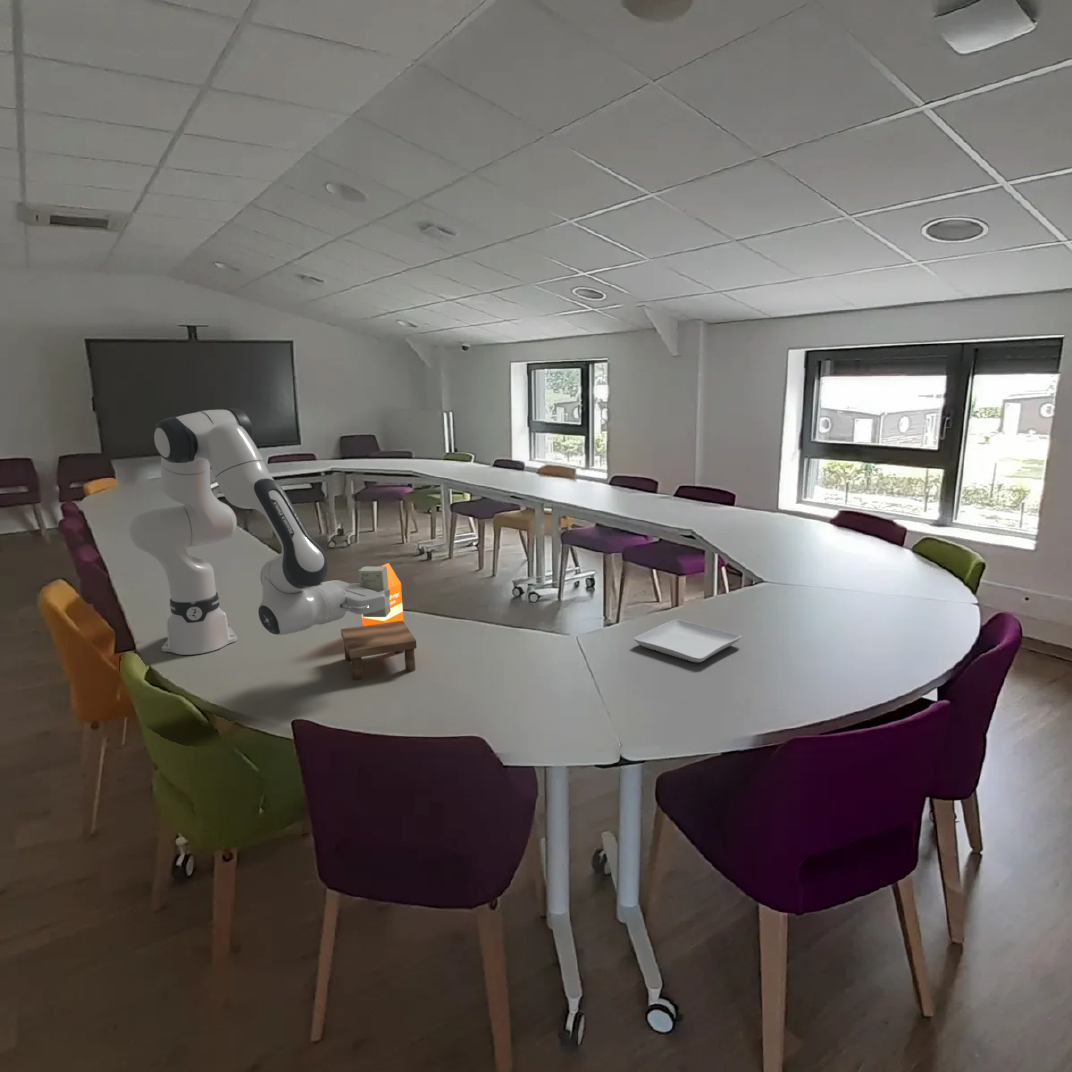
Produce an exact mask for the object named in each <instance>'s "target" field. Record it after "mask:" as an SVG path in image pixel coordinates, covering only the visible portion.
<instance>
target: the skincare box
mask: <svg viewBox="0 0 1072 1072" xmlns="http://www.w3.org/2000/svg"><path fill="white" fill-rule="evenodd" d="M357 572H358V583H360V587H363V588H366V589H370V590H373V591H376V592H380V591H381V590H382V589H389V585H388V574H387V566H382V565H376V566H375V565H371V566H370V565H369V566H368V565H367V566H366V565H365V566H362V567H361V568H360V569H358V571H357ZM390 612H391V609H390V597H386V607H385V608H384V609H383V610H379V611H375V612H371V613H367V614H363V617H386V616H387V615H388V614H389V613H390Z"/></svg>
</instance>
